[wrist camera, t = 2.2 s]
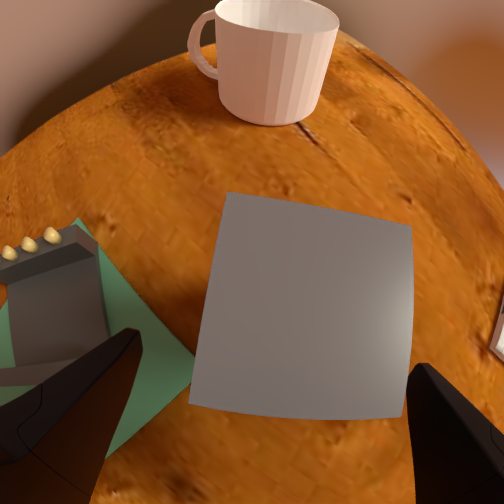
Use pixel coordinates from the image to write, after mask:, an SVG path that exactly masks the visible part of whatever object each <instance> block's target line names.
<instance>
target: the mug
mask: <svg viewBox="0 0 504 504" xmlns="http://www.w3.org/2000/svg"><path fill="white" fill-rule="evenodd" d="M211 19H215V25H216V50H217V68H215V69H214V68H213V66H212V65H208V62H207V61H206V60H205V57H204V56H203V55H202V54H201V49H200V44H199V41H200V40H199V39H200V33H201V30H202V28H203V26H204V24H205V23H206V21H208V20H211ZM338 27H339V19H338V17H337V16H336V15H335V14H334V13H333V12H332V11H330V10H329V9H327V8H326V7H324V6H322V5H320V4H318V3H315V2H313V1H310V0H223V1H221V2H220V3H218V4H217V5H216V8H215V9H214V10H211V11H207V12H205V13H204V14H202V15H201V16H200V17H199V18H198V20H197V21H196V22H195V23H194V25H193V27H192V29H191V31H190V35H189V39H188V43H187V44H188V50H189V56H190V59H191V60H192V61H193V62H194V64H196V65H197V67H198V68H199V70H200V71H201V72H203V73H204V74H205V75H206V76H208V77H210V78H213V79H216V80H218V90H219V98H220V100H221V102H222V104H223V105H224V106H225V107H226V109H227V110H228V111H229V112H231V113H232V114H233V115H235V116H236V117H238V118H240V119H242V120H244V121H247V122H250V123H253V124H259V125H265V126H283V125H288V124H293V123H295V122H298V121H300V120H302V119H304V118H305V117H307V116H308V115H310V114H311V112H312V111H313V110H314V108H315V106H316V104H317V101H318V97H319V94H320V91H321V87H322V84H323V80H324V77H325V73H326V70H327V66H328V63H329V59H330V56H331V52H332V49H333V45H334V42H335V38H336V35H337V31H338Z"/></svg>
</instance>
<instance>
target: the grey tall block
mask: <svg viewBox="0 0 504 504" xmlns="http://www.w3.org/2000/svg"><path fill="white" fill-rule="evenodd" d="M413 303H414V269H413V244H412V229H411V226H409V225H405V224H400V223H396V222H392V221H387V220H383V219H378V218H374V217H369V216H364V215H360V214H355V213H350V212H345V211H340V210H335V209H330V208H324V207H319V206H314V205H308V204H302V203H297V202H291V201H285V200H279V199H273V198H267V197H260V196H254V195H247V194H240V193H233V192H227V195H226V199H225V204H224V209H223V213H222V218H221V223H220V228H219V232H218V237H217V242H216V247H215V252H214V257H213V262H212V267H211V272H210V277H209V283H208V288H207V293H206V299H205V304H204V310H203V315H202V321H201V327H200V332H199V338H198V344H197V350H196V356H195V363H194V369H193V375H192V382H191V388H190V395H189V402H188V404H192V405H197V406H202V407H207V408H213V409H218V410H224V411H230V412H237V413H244V414H252V415H261V416H270V417H281V418H295V419H316V420H360V419H381V418H394V417H401V415H402V410H403V405H404V399H405V393H406V386H407V379H408V371H409V363H410V353H411V342H412V327H413Z"/></svg>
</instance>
